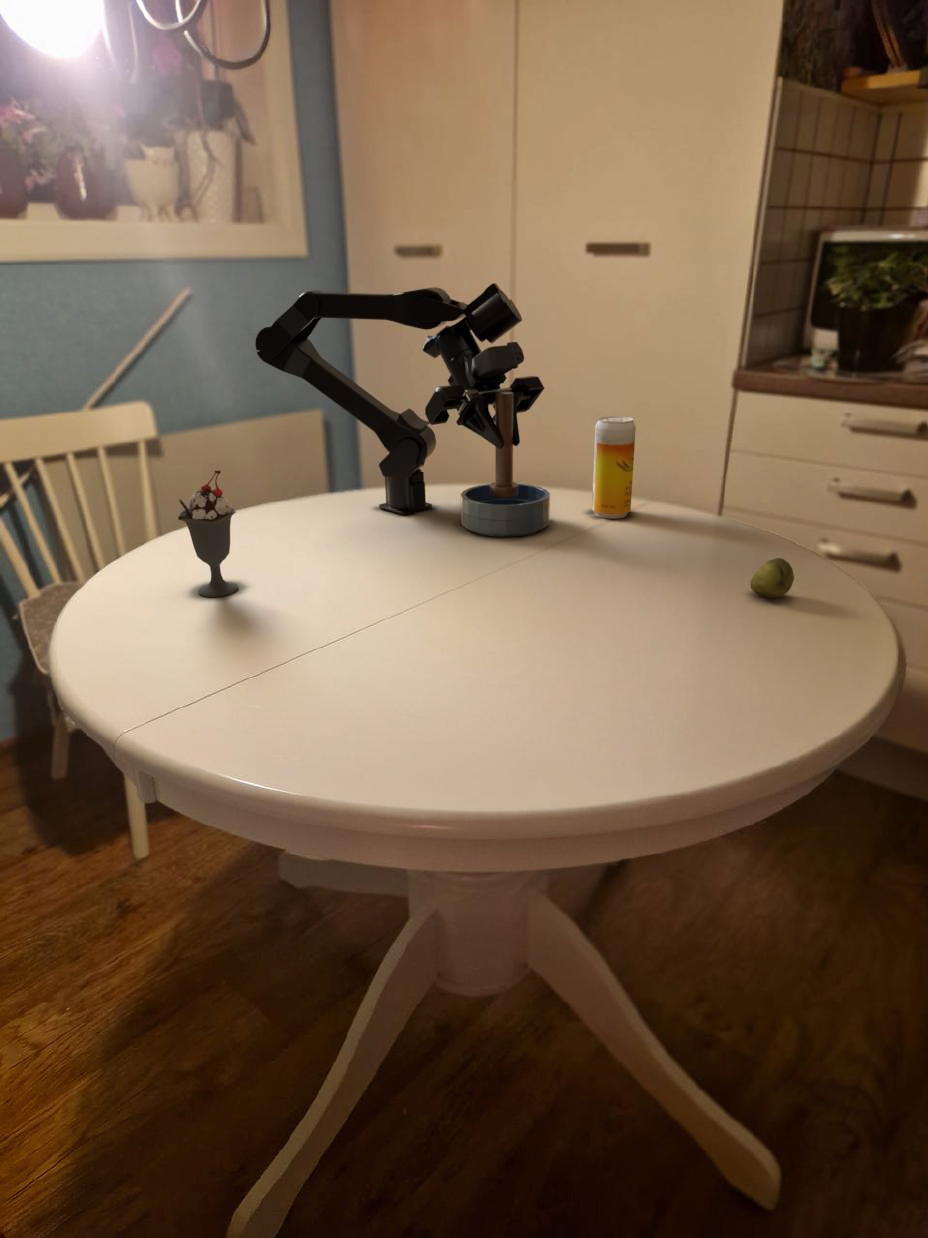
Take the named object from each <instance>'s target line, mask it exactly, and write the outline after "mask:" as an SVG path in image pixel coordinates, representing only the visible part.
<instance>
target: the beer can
mask: <svg viewBox="0 0 928 1238" xmlns="http://www.w3.org/2000/svg"><path fill="white" fill-rule="evenodd" d="M636 428H637V427H636V424H635V422H634V418H633V417H629V416H624V415H623V416H622V415H607V416H600V417H599V418H598V421H597V422H596V424H595V426H594V447H593V448H594V450H593V451H594V452H593V453H594V454H593V473H592V475H593V476H592V477H593V478H592V494H591V495H592V497H591V499H592V500H591V510H592V512H593V513H594V515H595V516H596V517H599V518H603V519H623V518H625V517H627V516H628V514H629V512H631V511H632V509H631V508H632V494H633V478H634V477H633V476H634V461H635V443H636V430H637V429H636Z"/></svg>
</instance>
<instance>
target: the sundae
mask: <svg viewBox="0 0 928 1238" xmlns="http://www.w3.org/2000/svg"><path fill="white" fill-rule="evenodd" d="M221 472H222V471H221V470H215V471H214V474H213V475H212V477H211V479H210V480H209V481H208V482H207V483H206V484H203V485H201V487H200V489H199V490H197V491H194V493H193V494H192V496H191V497H190V498H189V504H188V505H189V507H188V506H187V504H185V502H184V501H183V500H182V499H181V498H179V499H178V501H179V503H180V505H181V506H182V507H183V509H184V510H182V511H181V512H180V513H179V514H178V515H179V516H178V518H177V519H178V520H179V521H182V522H184V523H185V524H186V527H187V530H188V532H189V535H190V538H191V542H192V546H193V549H194V552H195V554H196V557H197V558H198V559H199V560H200V561H202V562H203V563H205V564H206V565H208V566H209V569H210V581H209V583H207V584H204V585H202V586H201V587H200V588H198V590H197V593H198V594H199V595H200V596H202V597H206V598H219V597H224V596H229V595H232V594H233V593H235V592H237V591H238V589H239V585H238V584H237V583H234V582H229V581H225V579H224V578H223V576H222V575H223V574H222V572H221V571H222V570H221V564H222V563H223V562H224V561H225V560H226V559H227V557H228V555H230V549H231V523H232V517H233V515H235V514H236V513H237V511H236V509H234V508H233V507H232V506H231V505H230V503H229V501H228V500H227V499H226V498H225V497H223V490H222V489H220V488H219V487H218V486H219V485H218V483H217V482H218V481H217V480H218V479H217V478H218V477H219V475H220V474H221ZM215 475H216V476H215ZM214 478H215V481H214V483H215V488H214V489H213V490H212V487H211V485H210V483H211V482H212V481H213V479H214Z"/></svg>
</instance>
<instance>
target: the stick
mask: <svg viewBox="0 0 928 1238" xmlns="http://www.w3.org/2000/svg"><path fill="white" fill-rule="evenodd" d="M494 415H495V422H494V423H495V425H496V426H497V428H498V430H499V432H500V434H501V437H502V439H503V442H504V446H503V448H502V449H499V448H497V447H496V446H494V447H495V448H494V449H495V450H494V451H495V453H494V455H495V456H494V457H495V458H494V460H495V465H494V466H495V468H494V469H495V471H494V472H495V477H494V478H495V479H494V482H491V483H489V484H490V485H489V494H490V496H492V497H497V498H511V497H515V496H517V495H518V494H519V485H518V484H519V483H517V482H515V481H514V445H513V392H496V393H495V410H494Z"/></svg>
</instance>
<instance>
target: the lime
mask: <svg viewBox="0 0 928 1238" xmlns="http://www.w3.org/2000/svg"><path fill="white" fill-rule="evenodd" d="M794 580H795V575H794V569H793V567H792V565H791V564H790V562H788V561H787V560H786V559H783V558H781V557H776V558H772V559H769V560H767V561H766V562H765V563H764V564H763V565H761V566H759V568H758V569H757V570H756V571H755V572H754V574H753V575H752V578H751V580H750V589H751V591H752V592H753V593H755V594H756V595H758V596H760V597H762V598H765V599H774V598H779V597H782V596H784V595H786V594H787V593H788V592H789V591H790V590H791V589H792V587H793V584H794Z"/></svg>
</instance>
